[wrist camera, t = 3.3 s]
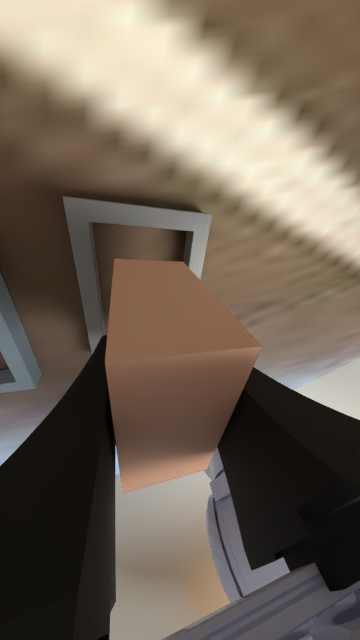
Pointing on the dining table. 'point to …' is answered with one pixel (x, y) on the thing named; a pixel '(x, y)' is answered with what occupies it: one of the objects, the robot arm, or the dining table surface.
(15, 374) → the grey picture frame
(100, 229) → the dining table surface
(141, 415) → the terracotta block
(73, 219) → the grey rectangular open frame
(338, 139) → the dining table surface
